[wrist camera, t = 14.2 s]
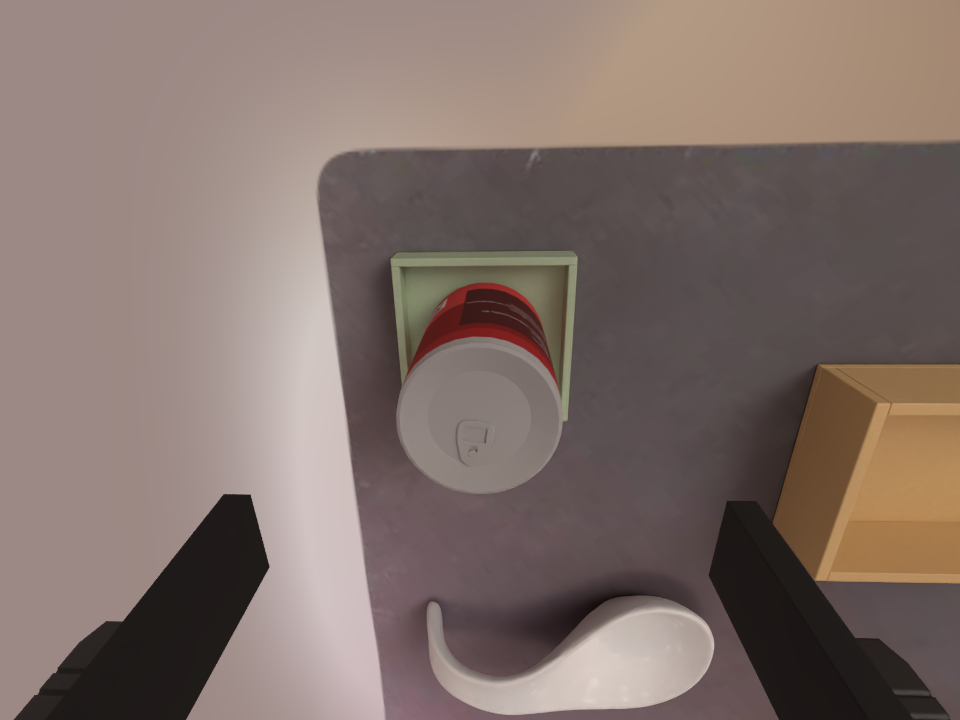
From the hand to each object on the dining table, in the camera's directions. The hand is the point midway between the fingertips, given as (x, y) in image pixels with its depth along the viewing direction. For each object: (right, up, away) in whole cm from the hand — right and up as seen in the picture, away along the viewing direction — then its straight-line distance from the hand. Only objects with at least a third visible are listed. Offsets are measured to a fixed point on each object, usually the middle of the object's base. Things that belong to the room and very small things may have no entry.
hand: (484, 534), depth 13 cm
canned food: (0, +6, +18) cm, 19 cm away
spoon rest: (+7, -18, +29) cm, 35 cm away
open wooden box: (+33, -2, +21) cm, 39 cm away
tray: (0, +7, +18) cm, 20 cm away
